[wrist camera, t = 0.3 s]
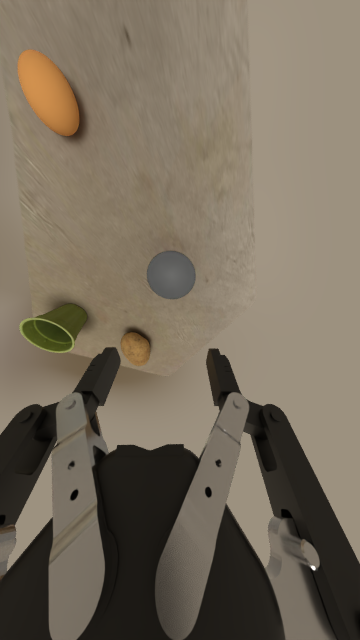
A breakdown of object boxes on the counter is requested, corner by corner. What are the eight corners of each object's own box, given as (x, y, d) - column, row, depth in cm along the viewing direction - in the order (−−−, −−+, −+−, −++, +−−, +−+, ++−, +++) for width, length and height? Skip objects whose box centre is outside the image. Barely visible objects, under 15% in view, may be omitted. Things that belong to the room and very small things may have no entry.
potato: (145, 323, 46) (139, 339, 39) (156, 350, 54) (153, 367, 47) (118, 327, 46) (108, 344, 40) (133, 353, 55) (127, 370, 48)
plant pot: (103, 319, 44) (84, 344, 35) (78, 331, 47) (55, 357, 38) (71, 289, 38) (38, 310, 29) (45, 306, 41) (8, 330, 32)
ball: (34, 75, 19) (-15, 26, 14) (77, 77, 19) (43, 28, 14) (57, 143, 22) (24, 122, 18) (93, 143, 23) (70, 123, 18)
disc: (143, 250, 32) (143, 250, 32) (197, 251, 33) (197, 251, 32) (150, 298, 40) (150, 299, 40) (193, 298, 40) (193, 299, 40)
